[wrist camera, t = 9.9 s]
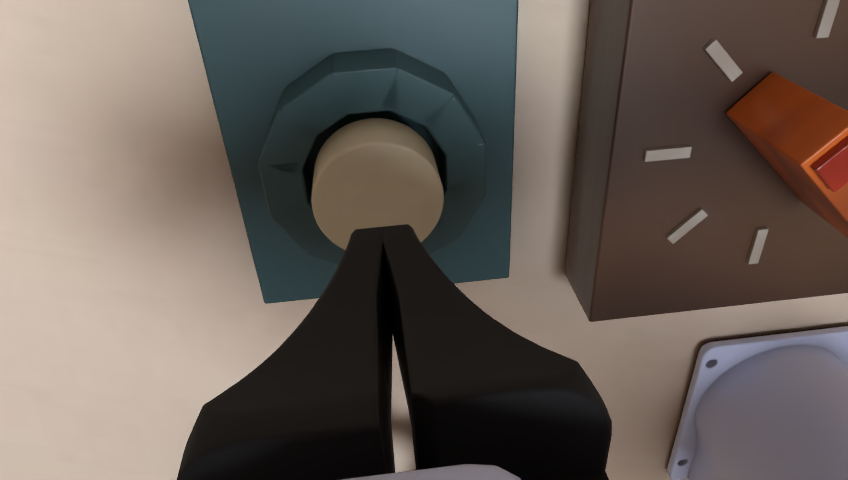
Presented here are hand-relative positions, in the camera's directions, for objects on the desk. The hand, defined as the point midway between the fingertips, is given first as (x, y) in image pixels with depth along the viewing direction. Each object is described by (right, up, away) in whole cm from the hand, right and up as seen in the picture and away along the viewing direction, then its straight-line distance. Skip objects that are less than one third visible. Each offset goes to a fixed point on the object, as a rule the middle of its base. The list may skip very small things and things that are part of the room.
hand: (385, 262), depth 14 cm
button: (-1, +2, +4) cm, 5 cm away
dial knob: (+12, +3, +4) cm, 13 cm away
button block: (-1, +4, +6) cm, 7 cm away
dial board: (+12, +5, +7) cm, 14 cm away
